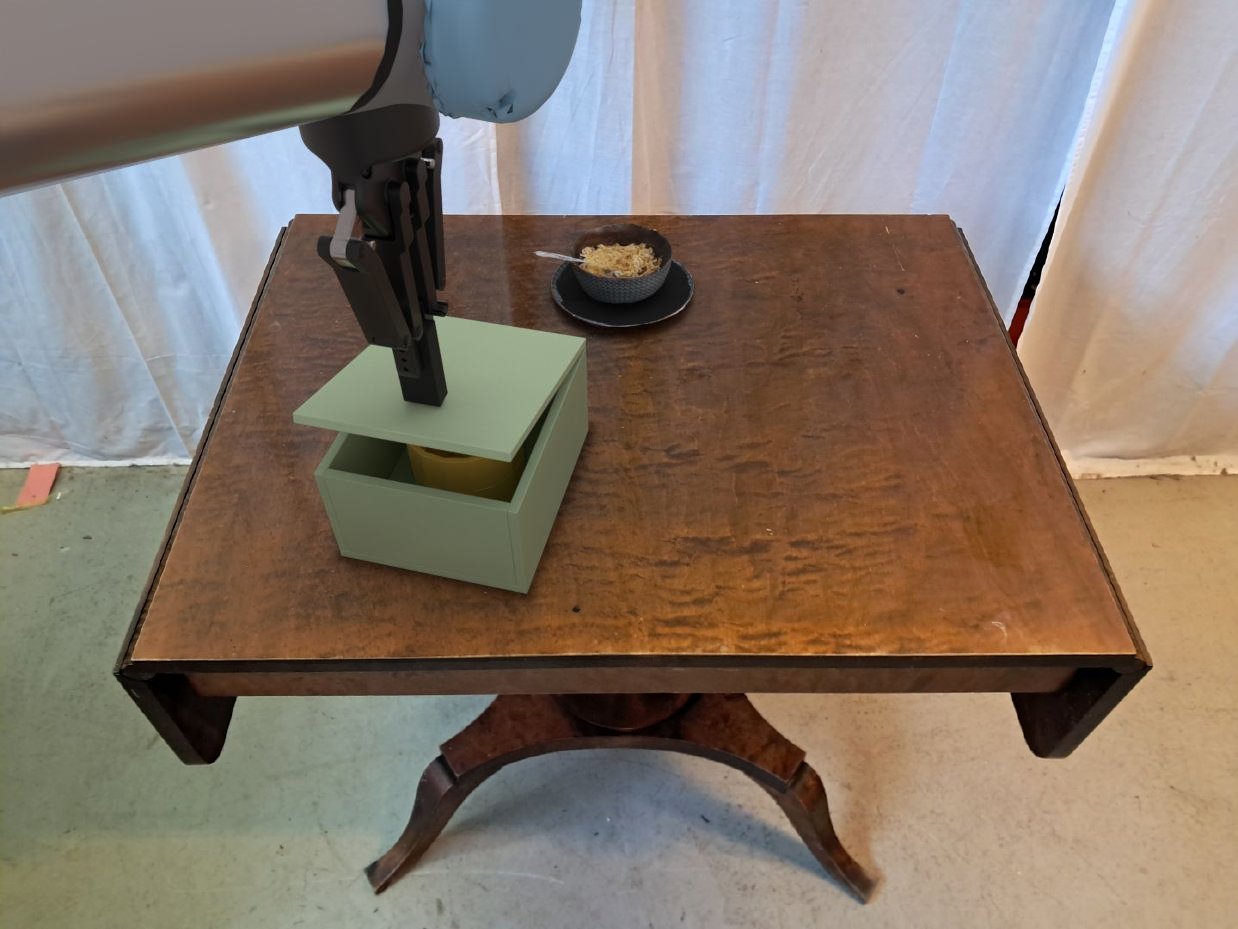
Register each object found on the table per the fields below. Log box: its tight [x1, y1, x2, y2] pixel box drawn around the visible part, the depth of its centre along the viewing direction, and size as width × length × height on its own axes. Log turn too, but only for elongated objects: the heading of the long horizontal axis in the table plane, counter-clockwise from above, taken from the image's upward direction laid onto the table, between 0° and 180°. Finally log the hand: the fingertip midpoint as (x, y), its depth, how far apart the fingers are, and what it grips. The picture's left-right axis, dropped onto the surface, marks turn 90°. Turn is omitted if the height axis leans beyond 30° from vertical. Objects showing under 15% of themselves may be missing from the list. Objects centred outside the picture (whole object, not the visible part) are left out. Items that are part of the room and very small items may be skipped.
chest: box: [313, 346, 589, 595], centre depth 77 cm, size 19×16×10 cm
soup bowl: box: [533, 223, 695, 331], centre depth 97 cm, size 15×16×7 cm
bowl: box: [405, 441, 527, 503], centre depth 77 cm, size 9×9×8 cm
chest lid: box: [292, 315, 587, 462], centre depth 71 cm, size 19×16×1 cm
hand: (425, 396), depth 66 cm, fingers closed
